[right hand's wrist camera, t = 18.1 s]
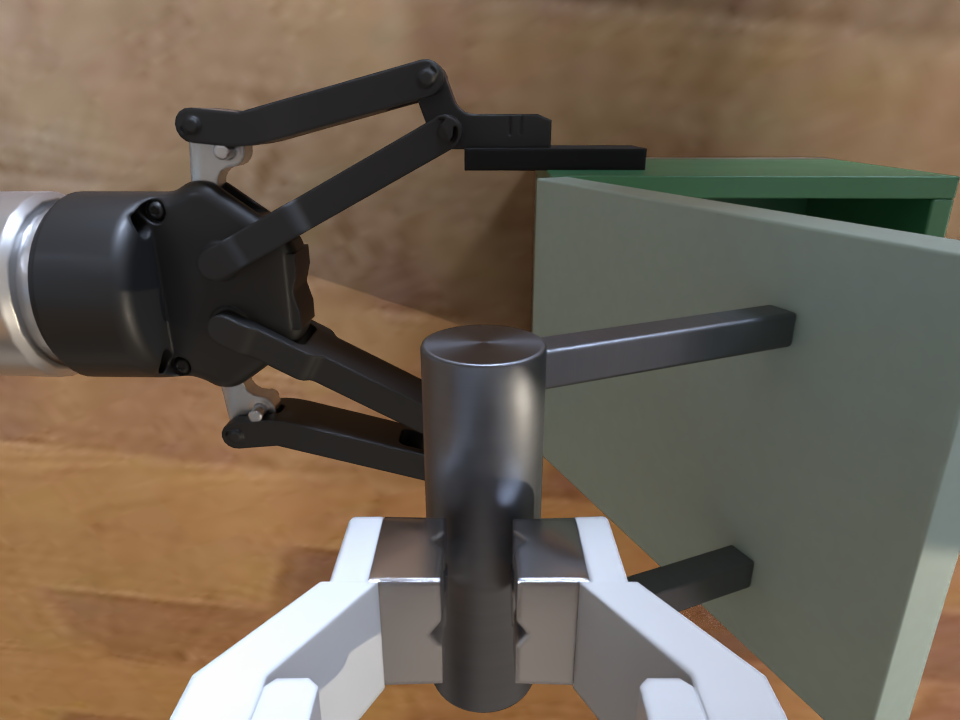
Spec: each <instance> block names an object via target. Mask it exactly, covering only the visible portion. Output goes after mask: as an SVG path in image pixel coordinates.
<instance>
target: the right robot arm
mask: <svg viewBox="0 0 960 720" xmlns="http://www.w3.org/2000/svg"><path fill="white" fill-rule="evenodd" d="M511 550H512V564H511V583H510V602H511V622H512V627H513V654H514V668H515V682H516V683H529V684H564V685H573V688H574V689H575V690H576V692H577V693H578V694H579V695H580V697H581V698H582V699H583V700H584V702H585V703H586V704H587V705H588V707H589V708H590V709H591V710H592V712H593V713H594V714H595V715H596V717H597V718H598V719H599V720H788V719H787V717H786V715H785V713H784V711H783V709H782V707H781V705H780V703H779V701H778V699H777V697H776V695H775V693H774V691H773V689H772V688H771V686H770V684H769V682H768V680H767V678H766V676H765V675H763V674H762V673H761V672H759V671H758V670H756V669H755V668H754V667H752V666H751V665H750V664H748V663H747V662H746V661H744V660H743V659H741V658H740V657H739V656H737V655H736V654H735V653H733V652H732V651H731V650H729V649H728V648H727V647H725V646H724V645H722V644H721V643H720V642H718V641H717V640H716V639H714V638H713V637H712V636H710V635H709V634H708V633H706V632H705V631H703V630H702V629H701V628H699V627H698V626H697V625H695V624H694V623H693V622H691V621H690V620H689V619H687V618H686V617H684V616H683V615H682V614H680V613H679V612H678V611H676V610H675V609H674V608H672V607H671V606H669V605H668V604H667V603H665V602H664V601H663V600H661V599H660V598H659V597H657V596H656V595H655V594H653V593H652V592H650V591H649V590H648V589H646V588H645V587H644V586H642V585H641V584H640V583H638V582H628V580H627V577H626V574H625V570H624V567H623V564H622V561H621V558H620V555H619V552H618V549H617V546H616V543H615V540H614V536H613V533H612V530H611V527H610V524H609V521H608V519H607V518H606V517H605V516H601V517H574V518H545V519H512V526H511ZM446 552H447V524H446V518H410V517H385V518H383V517H353V518H352V519H351V520H350V521H349V524H348V527H347V530H346V533H345V536H344V539H343V542H342V545H341V548H340V551H339V554H338V557H337V561H336V564H335V567H334V570H333V573H332V576H331V579H330V582H320V583H318V584H317V585H315V586H314V587H313V588H311V589H310V590H309V591H307V592H306V593H305V594H303V595H302V596H300V597H299V598H298V599H296V600H295V601H294V602H292V603H291V604H289V605H288V606H287V607H285V608H284V609H283V610H281V611H280V612H278V613H277V614H276V615H274V616H273V617H272V618H270V619H269V620H268V621H266V622H265V623H263V624H262V625H261V626H259V627H258V628H257V629H255V630H254V631H252V632H251V633H250V634H248V635H247V636H246V637H244V638H243V639H241V640H240V641H239V642H237V643H236V644H235V645H233V646H232V647H231V648H229V649H228V650H226V651H225V652H224V653H222V654H221V655H220V656H218V657H217V658H215V659H214V660H213V661H211V662H210V663H209V664H207V665H206V666H204V667H203V668H202V669H200V670H199V671H198V672H196V673H195V674H194V675H192V677H191V679H190V681H189V683H188V685H187V687H186V688H185V690H184V692H183V694H182V696H181V698H180V700H179V702H178V704H177V706H176V708H175V710H174V712H173V714H172V716H171V717H170V719H169V720H360V718H361V717H362V716H363V715H364V713H365V712H366V711H367V710H368V708H369V707H370V706H371V705H372V703H373V702H374V701H375V700H376V698H377V697H378V696H379V695H380V693H381V692H382V691H383V690H384V689H385V685H393V684H428V683H442V682H443V669H444V655H445V627H446V625H447V603H448V565H447V563H446Z"/></svg>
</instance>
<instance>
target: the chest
mask: <svg viewBox="0 0 960 720" xmlns="http://www.w3.org/2000/svg"><path fill="white" fill-rule="evenodd" d="M554 177H571V178H577V179H583V180H589V181H596V182H602V183H608V184H614V185H620V186H627V187H633V188H639V189H645V190H651V191H658V192H664V193H670V194H676V195H682V196H688V197H695V198H701V199H707V200H713V201H719V202H726V203H732V204H738V205H744V206H750V207H757V208H763V209H769V210H775V211H781V212H788V213H794V214H800V215H806V216H812V217H819V218H825V219H831V220H837V221H843V222H850V223H856V224H862V225H868V226H874V227H881V228H887V229H893V230H899V231H905V232H911V233H918V234H924V235H930V236H936V237H942V238H945V234H946V230H947V225H948V221H949V217H950V213H951V209H952V205H953V198H954V197H955V194H956V190H957V186H958V182H959V177H958V176H953V175H946V174H938V173H931V172H924V171H916V170H909V169H902V168H894V167H887V166H879V165H872V164H865V163H857V162H850V161H843V160H835V159H831V158H824V157H646V164H645V170H547V171H535V199H534V235H533V271H532V308H531V332H532V333H533V300H534V265H535V230H536V195H537V179H538V178H554Z"/></svg>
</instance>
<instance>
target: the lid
mask: <svg viewBox="0 0 960 720" xmlns="http://www.w3.org/2000/svg"><path fill="white" fill-rule="evenodd" d="M421 377H422V407H423V436H424V465H425V494H426V518H446V524H447V552H446V563H447V565H448V603H447V625H446V627H445V655H444V669H443V682H442V683H434V684H435V686H436V688H437V690H438V691H439V692H440V694H441V695H442V696H443V697H444V698H445V699H446V700H447V701H449V702H450V703H451V704H453V705H455V706H457V707H459V708H461V709H464V710H467V711H472V712H481V713H486V712H495V711H500V710H503V709H506V708H508V707H510V706H512V705H514V704H515V703H517V702H518V701H520V700H521V699H522V698H523V697H524V696H525V695H526V693H527V692H528V691H529V689H530V687H531V685H532V684H529V683H516V682H515V668H514V654H513V627H512V622H511V602H510V583H511V564H512V550H511V526H512V519H541V494H542V467H543V457H544V458H545V459H546V460H548V461H549V462H550V463H551V464H552V465H553V466H554V467H555V468H556V469H557V470H558V471H559V472H560V473H561V474H562V475H564V476H565V477H566V478H567V479H568V480H569V481H570V482H571V483H572V484H573V485H574V486H575V487H576V488H577V489H578V490H580V491H581V492H582V493H583V494H584V495H585V496H586V497H587V498H588V499H589V500H590V501H591V502H592V503H593V504H594V505H596V506H597V507H598V508H599V509H600V510H601V511H602V512H603V513H604V514H605V515H606V516H607V517H608V518H609V519H610V520H612V521H613V522H614V523H615V524H616V525H617V526H618V527H619V528H620V529H621V530H622V531H623V532H624V533H625V534H626V535H627V536H629V537H630V538H631V539H632V540H633V541H634V542H635V543H636V544H637V545H638V546H639V547H640V548H641V549H642V550H643V551H645V552H646V553H647V554H648V555H649V556H650V557H651V558H652V559H653V560H654V561H655V562H656V563H657V564H658V565H659V566H661V567H658V568H655V569H652V570H649V571H645V572H642V573H639V574H636V575H632V576H629V577H627V580H628V582H638V583H640V584H641V585H642V586H644V587H645V588H646V589H648V590H649V591H650V592H652V593H653V594H655V595H656V596H657V597H659V598H660V599H661V600H663V601H664V602H665V603H667V604H668V605H669V606H671V607H672V608H674V609H675V610H676V611H678V612H679V611H682V610H685V609H688V608H690V607H693V606H696V605H699V604H701V605H702V606H703V607H704V608H705V609H706V610H707V611H709V612H710V613H711V614H712V615H713V616H714V617H715V618H716V619H717V620H718V621H719V622H720V623H721V624H722V625H723V626H725V627H726V628H727V629H728V630H729V631H730V632H731V633H732V634H733V635H734V636H735V637H736V638H737V639H738V640H739V641H740V642H742V643H743V644H744V645H745V646H746V647H747V648H748V649H749V650H750V651H751V652H752V653H753V654H754V655H755V656H756V657H758V658H759V659H760V660H761V661H762V662H763V663H764V664H765V665H766V666H767V667H768V668H769V669H770V670H771V671H772V672H774V673H775V674H776V675H777V676H778V677H779V678H780V679H781V680H782V681H783V682H784V683H785V684H786V685H787V686H788V687H790V688H791V689H792V690H793V691H794V692H795V693H796V694H797V695H798V696H799V697H800V698H801V699H802V700H803V701H804V702H806V703H807V704H808V705H809V706H810V707H811V708H812V709H813V710H814V711H815V712H816V713H817V714H818V715H819V716H820V717H822V718H823V719H824V720H909V717H910V713H911V710H912V707H913V704H914V700H915V697H916V694H917V690H918V687H919V684H920V680H921V677H922V674H923V671H924V667H925V664H926V661H927V657H928V654H929V651H930V648H931V644H932V641H933V638H934V634H935V631H936V628H937V624H938V621H939V618H940V615H941V611H942V608H943V605H944V601H945V598H946V595H947V592H948V588H949V585H950V582H951V578H952V575H953V572H954V568H955V565H956V562H957V559H958V555H959V552H960V240H955V239H949V238H942V237H936V236H930V235H924V234H918V233H911V232H905V231H899V230H893V229H887V228H881V227H874V226H868V225H862V224H856V223H850V222H843V221H837V220H831V219H825V218H819V217H812V216H806V215H800V214H794V213H788V212H781V211H775V210H769V209H763V208H757V207H750V206H744V205H738V204H732V203H726V202H719V201H713V200H707V199H701V198H695V197H688V196H682V195H676V194H670V193H664V192H658V191H651V190H645V189H639V188H633V187H627V186H620V185H614V184H608V183H602V182H596V181H589V180H583V179H577V178H571V177H554V178H538V179H537V195H536V230H535V265H534V300H533V333H532V332H529V331H526V330H522V329H518V328H514V327H508V326H500V325H467V326H459V327H453V328H448V329H445V330H441V331H438V332H435V333H433V334H431V335H429V336H428V337H426V338H425V339H424V340H423V342H422V345H421Z"/></svg>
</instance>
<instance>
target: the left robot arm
mask: <svg viewBox="0 0 960 720" xmlns="http://www.w3.org/2000/svg"><path fill="white" fill-rule="evenodd" d="M415 103H419V105H420V108H421V110H422V113H423V116H424V119H425V121H426V123H425V124H424V125H422V126H420V127H419V128H417V129H415V130H413V131H412V132H410V133H408V134H406V135H405V136H403V137H401V138H400V139H398V140H396V141H394V142H393V143H391V144H389V145H387V146H386V147H384V148H382V149H381V150H379V151H377V152H375V153H374V154H372V155H370V156H369V157H367V158H365V159H363V160H362V161H360V162H358V163H356V164H355V165H353V166H351V167H350V168H348V169H346V170H344V171H343V172H341V173H339V174H337V175H336V176H334V177H332V178H331V179H329V180H327V181H325V182H324V183H322V184H320V185H318V186H317V187H315V188H313V189H312V190H310V191H308V192H306V193H305V194H303V195H301V196H300V197H298V198H296V199H294V200H292V201H291V202H289V203H287V204H285V205H283V206H281V207H280V208H278V209H276V210H274V211H273V212H270V211H268V210H267V209H265V208H264V207H263V206H261V205H260V204H258V203H257V202H255V201H254V200H252V199H251V198H250V197H248V196H247V195H245V194H244V193H242V192H241V191H239V190H238V189H236V188H235V187H234V186H232V185H231V184H229V183H227V182H226V176H227V174H228V171H229V170H230V169H231V168H233V167H235V166H239V165H244V164H246V163H247V162H248V161H249V160H250V159H251V156H252V151H253V150H252V145H260V144H268V143H274V142H279V141H283V140H287V139H290V138H294V137H298V136H301V135H305V134H308V133H312V132H315V131H319V130H323V129H326V128H330V127H333V126H337V125H340V124H344V123H347V122H351V121H355V120H358V119H362V118H365V117H369V116H372V115H376V114H380V113H383V112H387V111H390V110H394V109H397V108H401V107H405V106H408V105H412V104H415ZM175 126H176V130H177V132H178V133H179V135H180V136H181V137H182V138H183V139H184V140H186V141H188V142H189V145H190V163H191V181H192V182H189V183H187V184H185V185H184V186H182V187H181V188H179V189H178V190H175V191H170V192H131V191H81V192H74V193H70V194H68V195H65V194H62V193H58V192H55V191H0V375H7V376H46V377H64V376H73V375H76V374H78V373H79V374H81V375H85V376H93V377H175V376H195V377H199V378H202V379H204V380H207V381H209V382H211V383H213V384H215V385H218V386H221V387H222V390H223V394H224V398H225V402H226V406H227V410H228V414H229V418H230V421H229V422H228V424H227V425H226V426H225V427H224V429H223V431H222V438H223V440H224V442H225V443H226V444H227V445H228V446H231V447H233V448H251V447H264V446H281V447H285V448H290V449H294V450H298V451H302V452H307V453H311V454H315V455H319V456H323V457H328V458H332V459H336V460H340V461H345V462H349V463H353V464H357V465H361V466H366V467H370V468H374V469H378V470H383V471H387V472H391V473H395V474H399V475H404V476H408V477H412V478H416V479H421V480H425V465H424V436H423V407H422V379H420V378H418V377H416V376H414V375H412V374H410V373H408V372H406V371H404V370H402V369H400V368H398V367H396V366H394V365H392V364H390V363H388V362H386V361H384V360H381V359H379V358H377V357H375V356H373V355H371V354H369V353H367V352H365V351H363V350H361V349H359V348H357V347H355V346H353V345H351V344H349V343H347V342H345V341H343V340H341V339H339V338H338V337H337V336H336V335H335V334H334V332H333V331H332V330H330V329H329V328H327V327H325V326H323V325H321V324H319V323H317V322H315V321H313V320H311V319H312V318H313V317H314V316H315V314H314V303H313V297H312V294H311V292H310V289H309V286H308V284H307V275H308V270H309V264H310V259H309V248H308V244H303V241H302V239H301V237H300V236H299V235H301V234H303V233H305V232H306V231H308V230H310V229H311V228H313V227H315V226H317V225H318V224H320V223H322V222H324V221H326V220H327V219H329V218H331V217H333V216H334V215H336V214H338V213H340V212H341V211H343V210H345V209H347V208H348V207H350V206H352V205H354V204H355V203H357V202H359V201H361V200H363V199H364V198H366V197H368V196H370V195H371V194H373V193H375V192H377V191H378V190H380V189H382V188H384V187H385V186H387V185H389V184H391V183H393V182H394V181H396V180H398V179H400V178H401V177H403V176H405V175H407V174H408V173H410V172H412V171H414V170H415V169H417V168H419V167H421V166H423V165H424V164H426V163H428V162H430V161H431V160H433V159H435V158H437V157H438V156H440V155H442V154H444V153H445V152H447V151H449V150H451V149H465V170H521V171H547V170H645V164H646V152H647V149H645V148H641V147H637V146H632V145H551V120H550V119H548V118H545V117H543V116H541V115H538V114H469V113H467V112H465V111H463V110H462V109H461V108H460V107H459V106H458V105H457V103H456V101H455V98H454V96H453V93H452V90H451V87H450V84H449V81H448V77H447V75H446V72H445V71H444V70H443V69H442V68H441V67H440V66H439V65H438V64H437V63H436V62H434V61H431V60H429V59H425V60H419V61H415V62H412V63H408V64H405V65H401V66H398V67H394V68H391V69H387V70H384V71H380V72H377V73H373V74H370V75H366V76H363V77H360V78H356V79H353V80H349V81H346V82H342V83H339V84H335V85H332V86H328V87H325V88H321V89H318V90H314V91H311V92H307V93H304V94H300V95H297V96H293V97H290V98H286V99H283V100H280V101H276V102H273V103H269V104H266V105H262V106H259V107H255V108H252V109H248V110H245V111H238V110H229V109H219V108H184V109H183V110H181V111H180V112H179V113H178V115H177V116H176V120H175ZM267 365H269V366H271V367H273V368H275V369H277V370H279V371H281V372H283V373H285V374H287V375H290V376H292V377H294V378H296V379H299V380H303V381H304V380H312V381H315V382H317V383H319V384H321V385H323V386H325V387H327V388H329V389H331V390H333V391H335V392H337V393H340V394H342V395H344V396H346V397H348V398H350V399H352V400H354V401H356V402H358V403H360V404H362V405H364V406H366V407H368V408H370V409H372V410H375V411H377V412H379V413H381V414H383V415H385V416H387V417H389V418H391V419H393V420H395V421H397V422H394V421H390V420H386V419H382V418H378V417H374V416H370V415H365V414H361V413H357V412H353V411H349V410H345V409H341V408H337V407H332V406H328V405H324V404H320V403H316V402H312V401H307V400H302V399H295V398H280V397H279V393H278V392H277V391H276V390H275V389H265V388H261V387H259V386H258V385H256V384H255V383H254V381H253V380H252V376H254V375H255V374H256V373H258V372H259V371H260V370H262V369H263V368H264V367H266V366H267ZM398 422H399V423H398Z"/></svg>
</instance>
